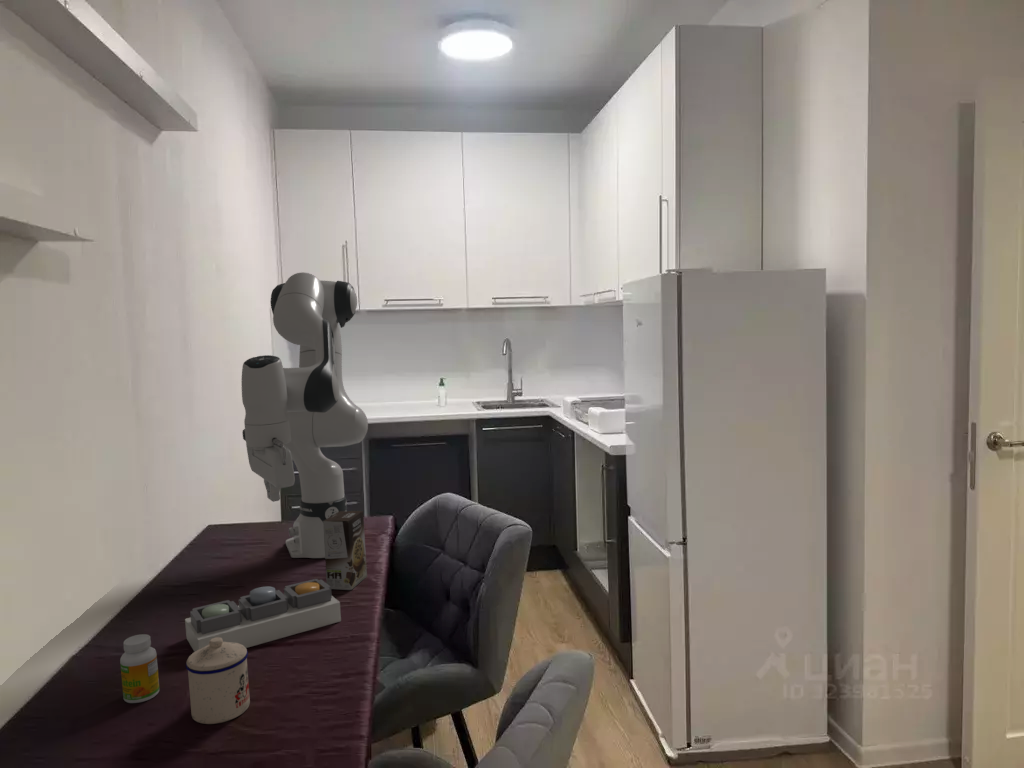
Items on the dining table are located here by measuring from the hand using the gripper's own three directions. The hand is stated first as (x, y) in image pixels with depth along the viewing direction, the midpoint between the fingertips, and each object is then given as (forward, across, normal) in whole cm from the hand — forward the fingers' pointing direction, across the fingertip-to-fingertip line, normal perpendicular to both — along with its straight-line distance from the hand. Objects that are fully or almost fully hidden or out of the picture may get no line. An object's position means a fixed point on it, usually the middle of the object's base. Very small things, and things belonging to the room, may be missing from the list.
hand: (273, 499), depth 151 cm
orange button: (+19, -8, -3) cm, 21 cm away
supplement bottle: (+23, -21, +30) cm, 43 cm away
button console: (+24, -8, +6) cm, 26 cm away
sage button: (+19, -8, +15) cm, 25 cm away
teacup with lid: (+23, -33, +20) cm, 45 cm away
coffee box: (+25, +6, -17) cm, 31 cm away
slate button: (+18, -8, +6) cm, 20 cm away
